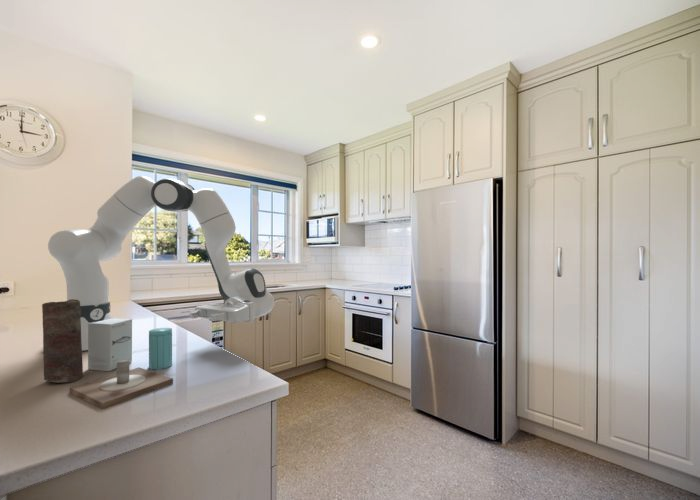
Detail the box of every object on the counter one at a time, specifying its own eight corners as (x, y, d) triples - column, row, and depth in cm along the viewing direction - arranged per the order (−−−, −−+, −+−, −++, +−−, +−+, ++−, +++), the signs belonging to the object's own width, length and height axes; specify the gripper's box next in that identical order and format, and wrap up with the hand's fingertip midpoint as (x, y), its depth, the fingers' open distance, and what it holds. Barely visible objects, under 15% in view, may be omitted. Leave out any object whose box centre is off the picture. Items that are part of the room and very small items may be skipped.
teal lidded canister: (144, 367, 92) (144, 331, 92) (164, 361, 97) (164, 326, 97) (156, 370, 89) (156, 333, 89) (176, 364, 94) (176, 329, 94)
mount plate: (69, 392, 76) (69, 365, 76) (139, 371, 89) (139, 348, 89) (102, 408, 68) (102, 378, 68) (172, 383, 81) (172, 357, 81)
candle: (37, 388, 78) (37, 302, 78) (48, 377, 85) (48, 298, 85) (78, 382, 82) (78, 300, 82) (86, 372, 88) (85, 296, 88)
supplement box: (109, 371, 89) (109, 324, 89) (86, 369, 90) (86, 323, 90) (133, 362, 96) (133, 318, 96) (111, 360, 98) (111, 317, 98)
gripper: (215, 298, 121) (179, 304, 109) (257, 302, 111) (222, 309, 99) (216, 316, 121) (180, 323, 109) (257, 321, 111) (222, 330, 99)
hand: (200, 317), depth 104 cm, fingers open, 8 cm apart
